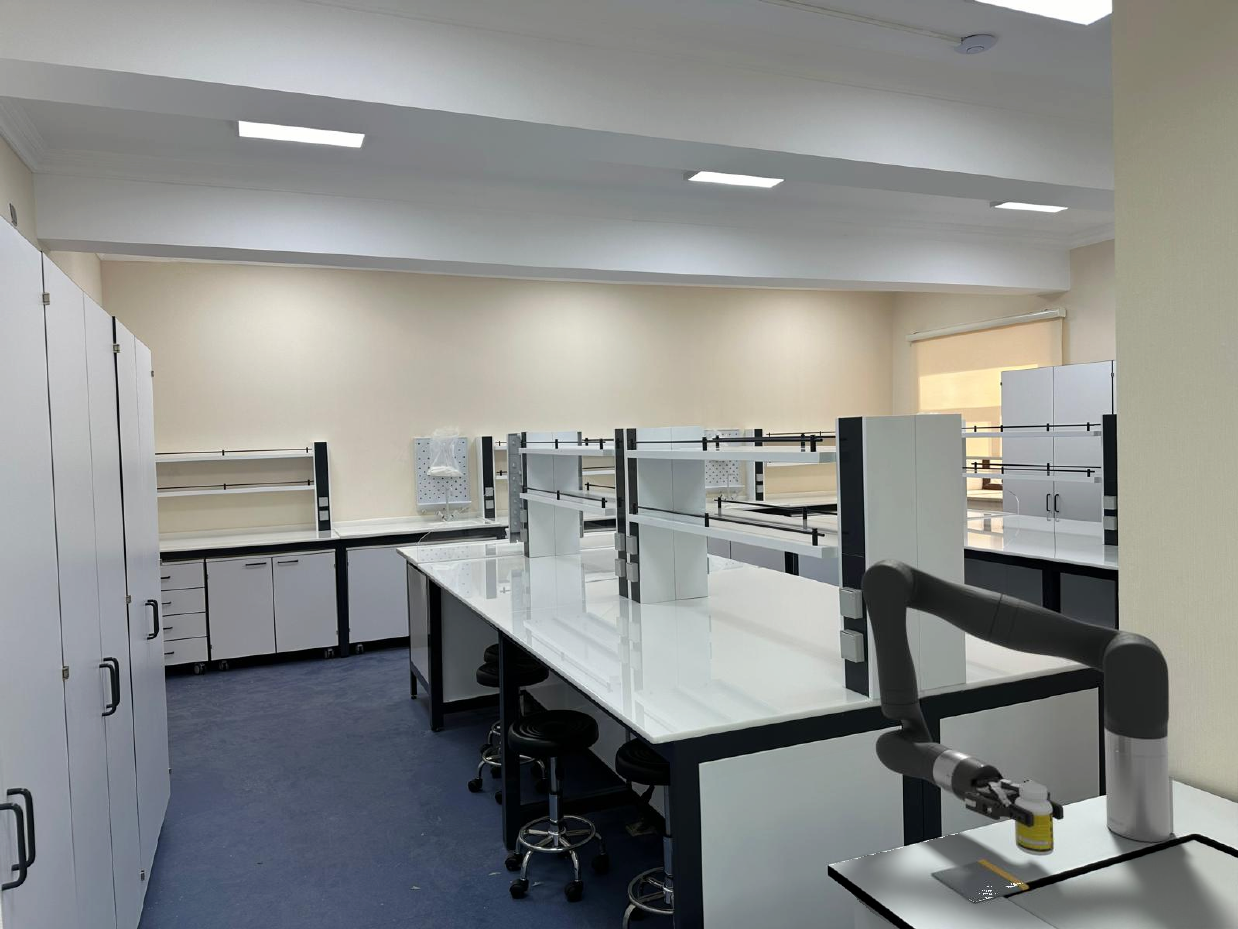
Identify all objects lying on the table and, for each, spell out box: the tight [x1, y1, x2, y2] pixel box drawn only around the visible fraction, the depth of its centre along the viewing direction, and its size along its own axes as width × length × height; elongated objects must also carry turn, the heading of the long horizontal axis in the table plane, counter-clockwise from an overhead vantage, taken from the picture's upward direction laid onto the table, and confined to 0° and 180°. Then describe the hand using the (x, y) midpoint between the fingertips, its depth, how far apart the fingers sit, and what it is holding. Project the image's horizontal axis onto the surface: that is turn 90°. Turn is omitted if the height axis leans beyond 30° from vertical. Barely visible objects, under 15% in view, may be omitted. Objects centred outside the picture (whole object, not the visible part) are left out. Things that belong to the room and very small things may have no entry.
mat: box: [930, 859, 1030, 902], centre depth 128 cm, size 10×9×1 cm
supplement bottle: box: [1014, 782, 1054, 857], centre depth 132 cm, size 5×5×10 cm
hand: (1046, 817), depth 130 cm, fingers closed on supplement bottle, 5 cm apart
